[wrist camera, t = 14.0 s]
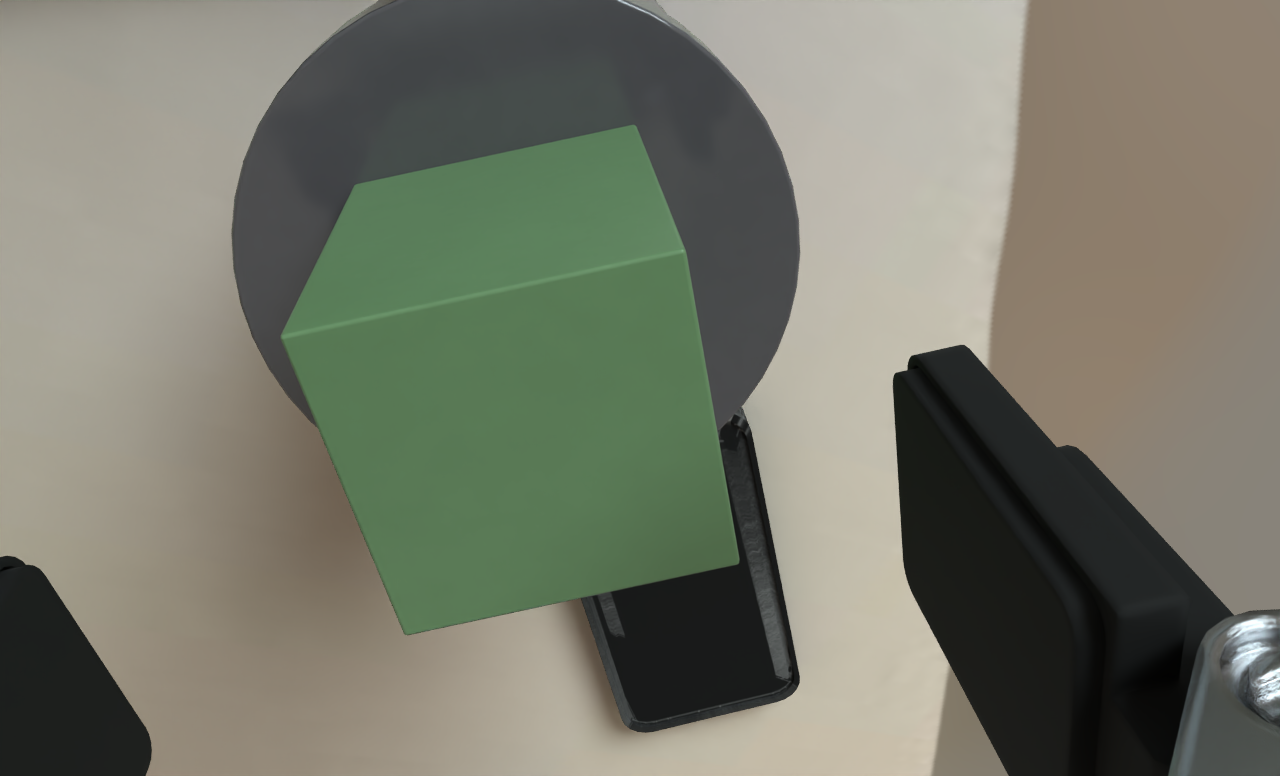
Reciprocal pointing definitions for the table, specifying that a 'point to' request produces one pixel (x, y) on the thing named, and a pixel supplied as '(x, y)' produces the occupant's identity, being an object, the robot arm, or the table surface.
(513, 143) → the jar
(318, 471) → the table surface
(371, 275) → the green block
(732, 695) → the phone
